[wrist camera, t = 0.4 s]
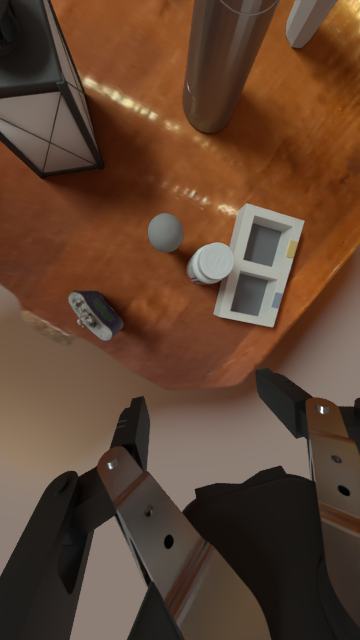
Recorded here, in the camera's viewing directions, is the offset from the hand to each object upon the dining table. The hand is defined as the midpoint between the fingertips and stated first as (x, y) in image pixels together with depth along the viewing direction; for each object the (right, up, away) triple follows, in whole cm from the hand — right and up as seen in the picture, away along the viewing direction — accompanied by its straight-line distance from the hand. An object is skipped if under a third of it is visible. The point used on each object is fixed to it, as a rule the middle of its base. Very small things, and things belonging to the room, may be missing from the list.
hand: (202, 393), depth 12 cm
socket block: (+14, +15, +25) cm, 33 cm away
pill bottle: (+3, +16, +24) cm, 29 cm away
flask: (-16, +7, +24) cm, 30 cm away
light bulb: (-5, +20, +23) cm, 30 cm away
